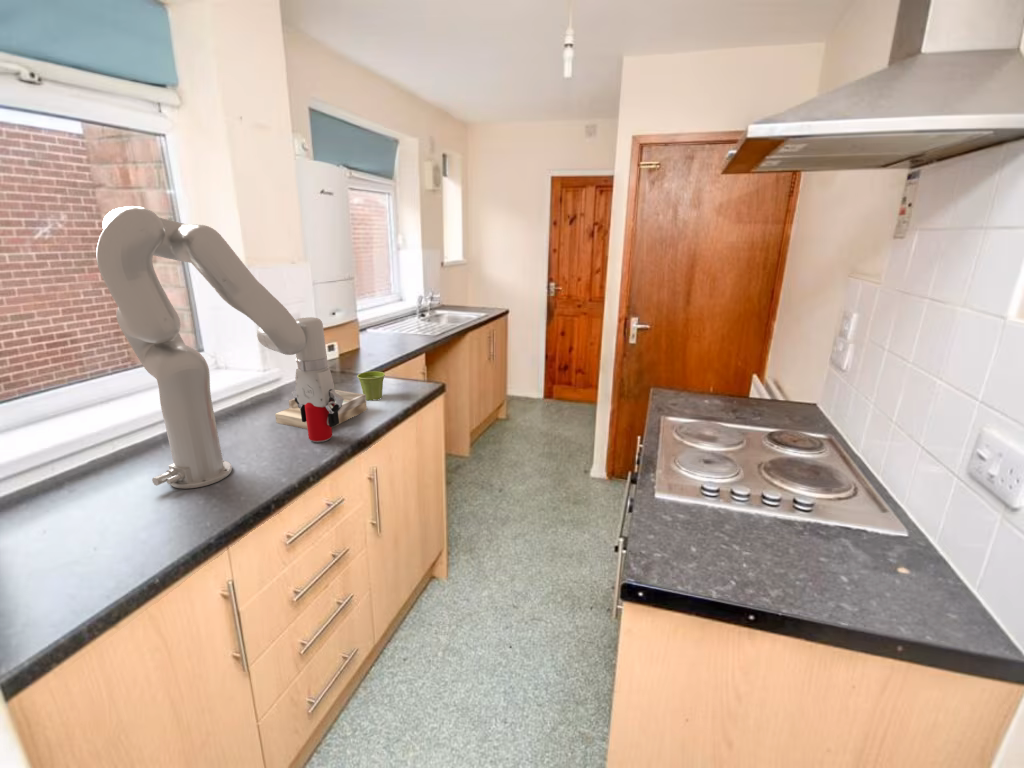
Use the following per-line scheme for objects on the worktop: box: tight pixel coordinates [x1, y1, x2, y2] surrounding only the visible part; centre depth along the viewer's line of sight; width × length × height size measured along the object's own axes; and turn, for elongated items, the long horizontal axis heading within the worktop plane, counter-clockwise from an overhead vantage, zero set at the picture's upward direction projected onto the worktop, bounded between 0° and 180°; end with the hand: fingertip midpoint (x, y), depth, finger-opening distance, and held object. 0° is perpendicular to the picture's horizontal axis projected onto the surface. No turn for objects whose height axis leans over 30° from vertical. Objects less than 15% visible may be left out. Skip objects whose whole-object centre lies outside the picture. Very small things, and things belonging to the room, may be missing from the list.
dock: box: [274, 389, 368, 430], centre depth 150 cm, size 20×18×6 cm
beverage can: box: [305, 402, 333, 443], centre depth 132 cm, size 6×6×12 cm
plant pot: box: [356, 370, 386, 401], centre depth 167 cm, size 9×9×9 cm
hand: (320, 422), depth 133 cm, fingers open, 9 cm apart
